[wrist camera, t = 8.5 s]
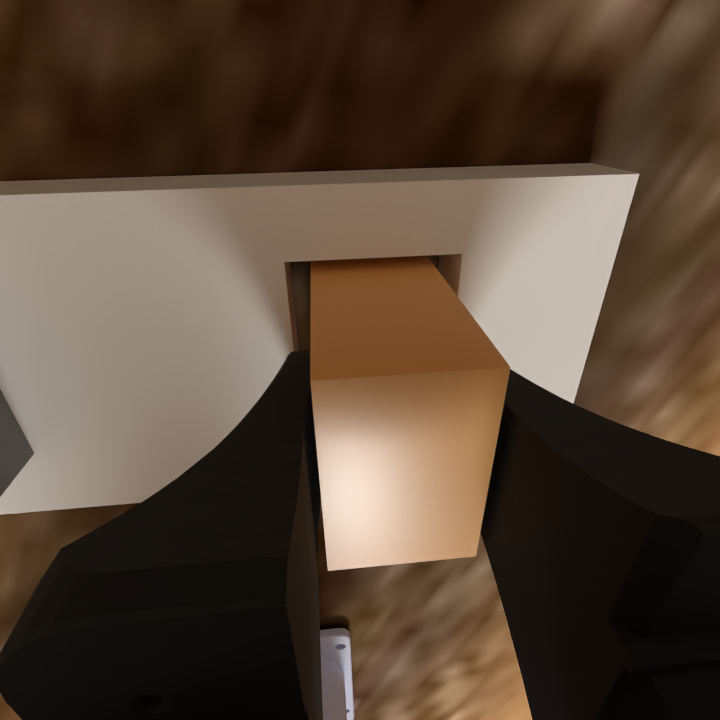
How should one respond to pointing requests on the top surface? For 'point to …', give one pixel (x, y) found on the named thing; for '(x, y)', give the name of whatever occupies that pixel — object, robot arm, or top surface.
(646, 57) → the top surface
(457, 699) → the top surface
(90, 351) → the white insertion base
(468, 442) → the orange rectangular block
